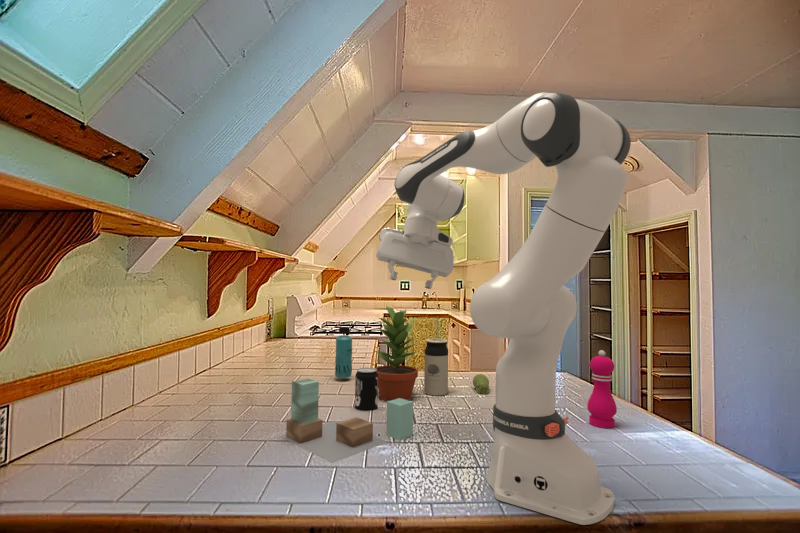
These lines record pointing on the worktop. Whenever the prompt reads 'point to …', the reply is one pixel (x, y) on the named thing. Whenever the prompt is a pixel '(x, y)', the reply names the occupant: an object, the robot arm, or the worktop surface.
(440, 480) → the worktop surface
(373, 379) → the beverage can
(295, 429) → the tower
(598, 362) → the pepper mill
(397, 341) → the potted plant
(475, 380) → the pear
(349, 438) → the base block
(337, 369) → the beverage bottle
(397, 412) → the pillar
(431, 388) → the travel mug
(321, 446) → the board
